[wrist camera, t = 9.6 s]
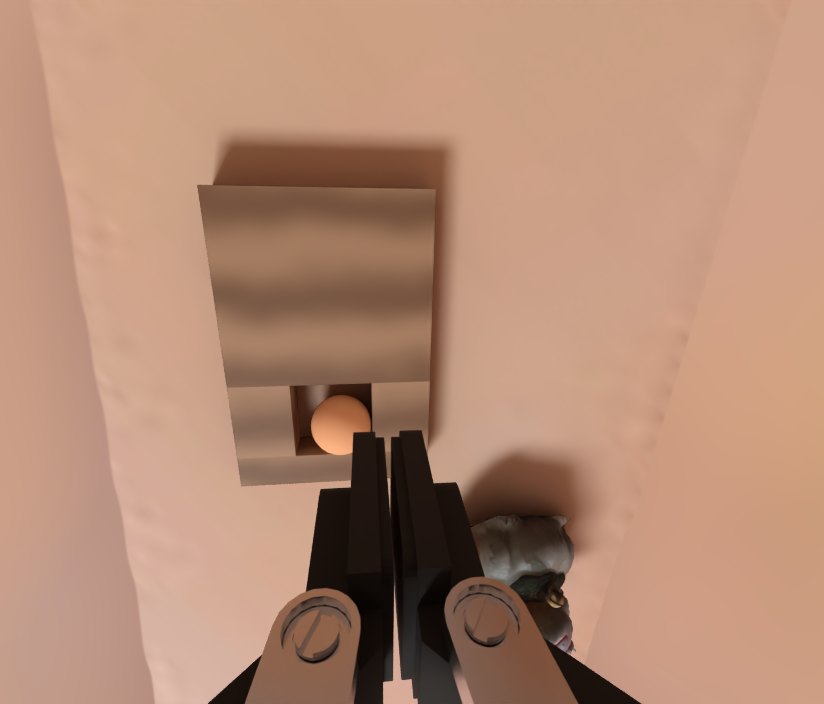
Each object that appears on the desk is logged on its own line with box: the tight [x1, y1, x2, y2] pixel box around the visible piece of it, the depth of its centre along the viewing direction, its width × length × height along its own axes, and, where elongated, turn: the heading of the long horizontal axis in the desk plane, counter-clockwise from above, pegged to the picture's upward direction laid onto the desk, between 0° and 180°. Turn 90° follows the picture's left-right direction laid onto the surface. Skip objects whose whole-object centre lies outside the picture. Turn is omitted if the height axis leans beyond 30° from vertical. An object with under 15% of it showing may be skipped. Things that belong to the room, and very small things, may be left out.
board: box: [197, 185, 436, 486], centre depth 35 cm, size 24×16×3 cm, turn 179°
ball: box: [311, 395, 371, 455], centre depth 36 cm, size 5×5×5 cm
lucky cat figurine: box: [471, 514, 576, 655], centre depth 41 cm, size 15×12×14 cm
